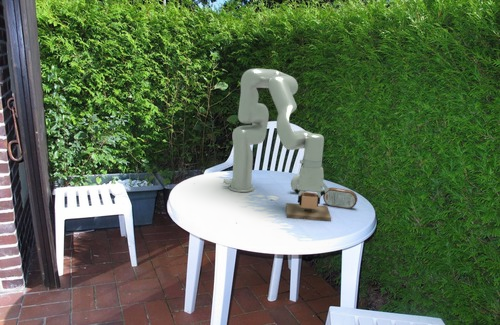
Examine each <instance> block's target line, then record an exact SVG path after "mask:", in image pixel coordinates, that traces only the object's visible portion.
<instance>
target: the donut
mask: <svg viewBox="0 0 500 325" xmlns="http://www.w3.org/2000/svg"><path fill="white" fill-rule="evenodd" d="M299 174H300V173H297V174H296V175H294V176H293V177H292V179H291V181H290V187H291V185H293V184H294V183H295V182H296V181H298V180H299ZM296 188H297V189H298V190H299V188H298V185H297V186H296ZM291 190H292V191H293V192H294V193H296V192H295V191H294V190H293V188H292V187H291ZM303 192H307V191H303Z"/></svg>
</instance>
